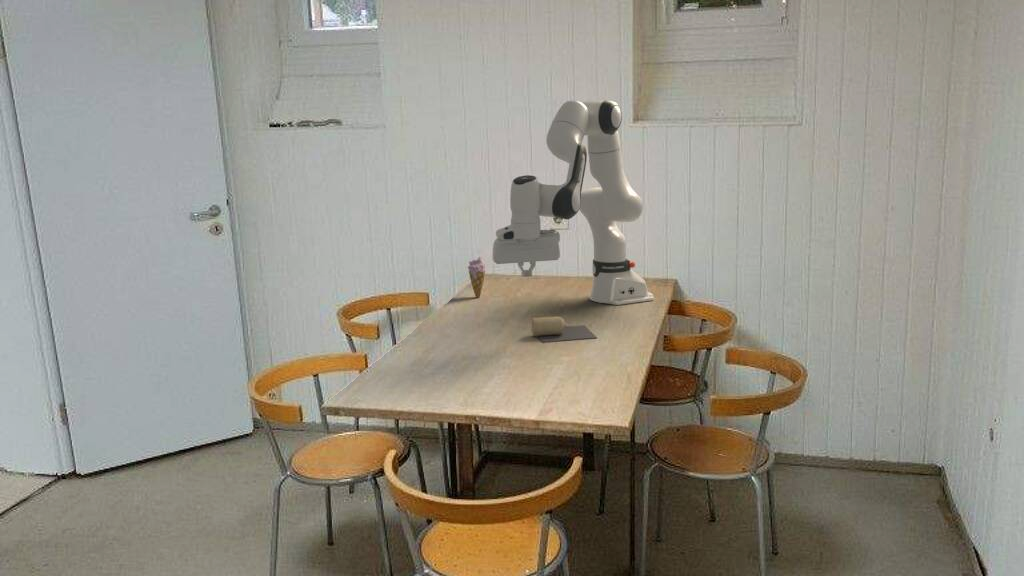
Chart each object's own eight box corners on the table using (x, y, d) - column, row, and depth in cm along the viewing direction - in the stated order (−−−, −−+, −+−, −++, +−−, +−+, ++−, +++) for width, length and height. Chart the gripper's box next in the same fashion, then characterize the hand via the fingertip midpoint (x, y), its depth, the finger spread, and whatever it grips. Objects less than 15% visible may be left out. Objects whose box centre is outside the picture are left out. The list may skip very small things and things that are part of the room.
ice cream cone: (485, 299, 324) (484, 258, 320) (468, 300, 324) (466, 259, 321) (486, 295, 330) (485, 255, 327) (469, 295, 331) (467, 255, 327)
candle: (534, 335, 274) (567, 333, 276) (533, 317, 275) (566, 315, 276) (532, 336, 280) (564, 334, 281) (530, 318, 280) (562, 316, 282)
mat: (584, 325, 288) (584, 325, 288) (597, 338, 275) (597, 337, 275) (532, 330, 285) (532, 329, 285) (542, 342, 272) (542, 341, 272)
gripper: (557, 227, 276) (557, 271, 279) (490, 231, 272) (492, 276, 275) (562, 230, 270) (562, 276, 273) (494, 234, 266) (496, 280, 269)
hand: (526, 276), depth 274 cm, fingers closed
